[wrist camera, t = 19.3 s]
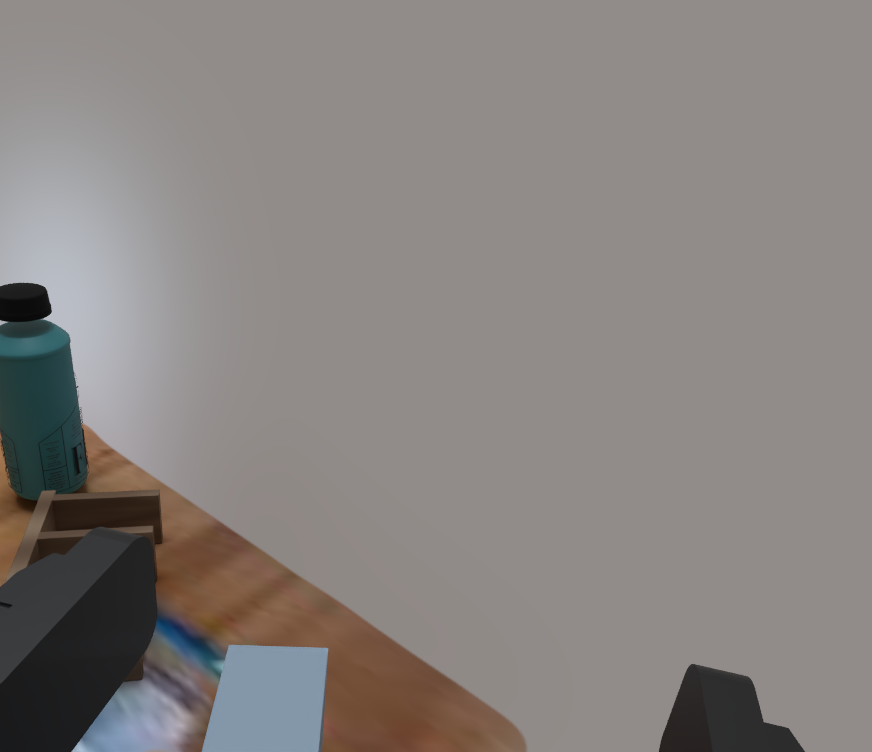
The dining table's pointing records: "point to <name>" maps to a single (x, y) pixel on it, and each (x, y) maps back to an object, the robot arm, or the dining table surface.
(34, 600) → the robot arm
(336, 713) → the dining table surface
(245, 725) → the board
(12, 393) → the beverage bottle
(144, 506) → the rack
